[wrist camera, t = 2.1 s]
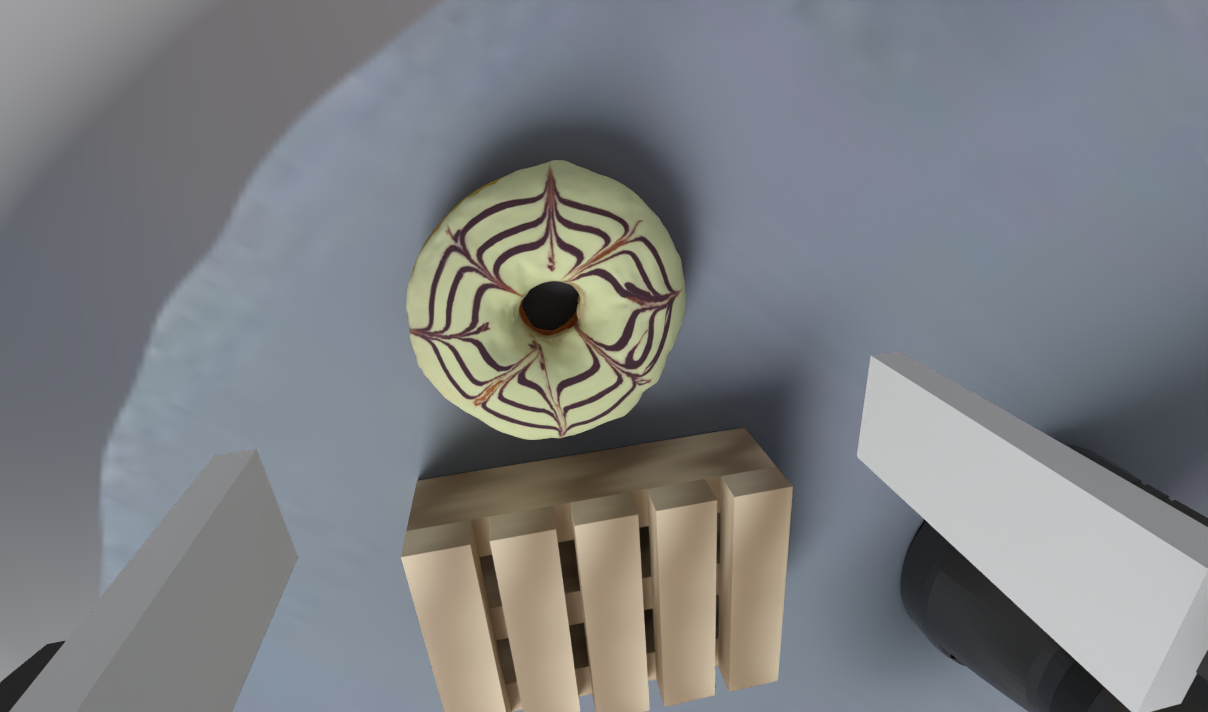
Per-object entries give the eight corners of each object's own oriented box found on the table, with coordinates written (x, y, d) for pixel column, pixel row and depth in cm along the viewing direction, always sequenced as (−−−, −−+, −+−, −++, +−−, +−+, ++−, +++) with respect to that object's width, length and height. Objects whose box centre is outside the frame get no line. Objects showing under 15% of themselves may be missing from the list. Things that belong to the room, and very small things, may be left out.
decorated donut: (715, 277, 25) (750, 302, 22) (558, 445, 27) (568, 492, 23) (534, 102, 21) (543, 99, 17) (365, 315, 23) (343, 349, 19)
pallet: (744, 427, 28) (793, 486, 24) (738, 603, 33) (777, 680, 28) (417, 480, 26) (401, 557, 21) (461, 661, 31) (456, 754, 26)
